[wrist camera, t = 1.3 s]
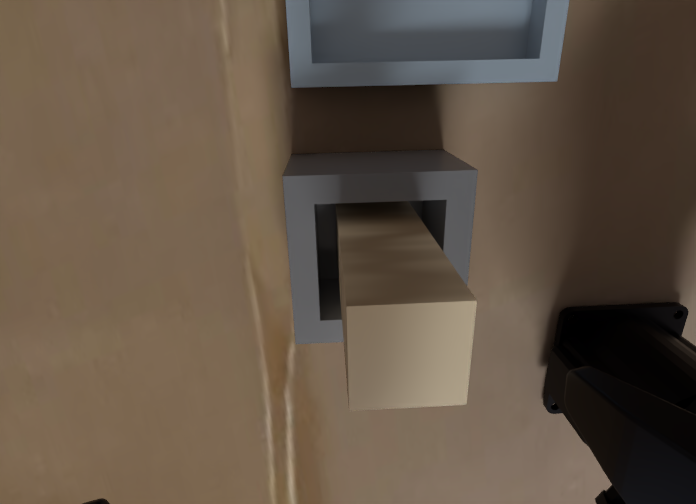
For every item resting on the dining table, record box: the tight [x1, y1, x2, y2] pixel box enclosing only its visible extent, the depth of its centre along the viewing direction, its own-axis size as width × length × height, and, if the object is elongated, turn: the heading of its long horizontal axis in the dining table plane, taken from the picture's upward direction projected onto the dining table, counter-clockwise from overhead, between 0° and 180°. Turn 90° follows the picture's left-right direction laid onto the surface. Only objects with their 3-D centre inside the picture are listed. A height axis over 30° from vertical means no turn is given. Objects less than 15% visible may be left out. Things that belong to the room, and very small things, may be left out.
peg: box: [336, 201, 477, 411], centre depth 15 cm, size 3×3×10 cm
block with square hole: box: [283, 150, 478, 344], centre depth 18 cm, size 7×7×4 cm
